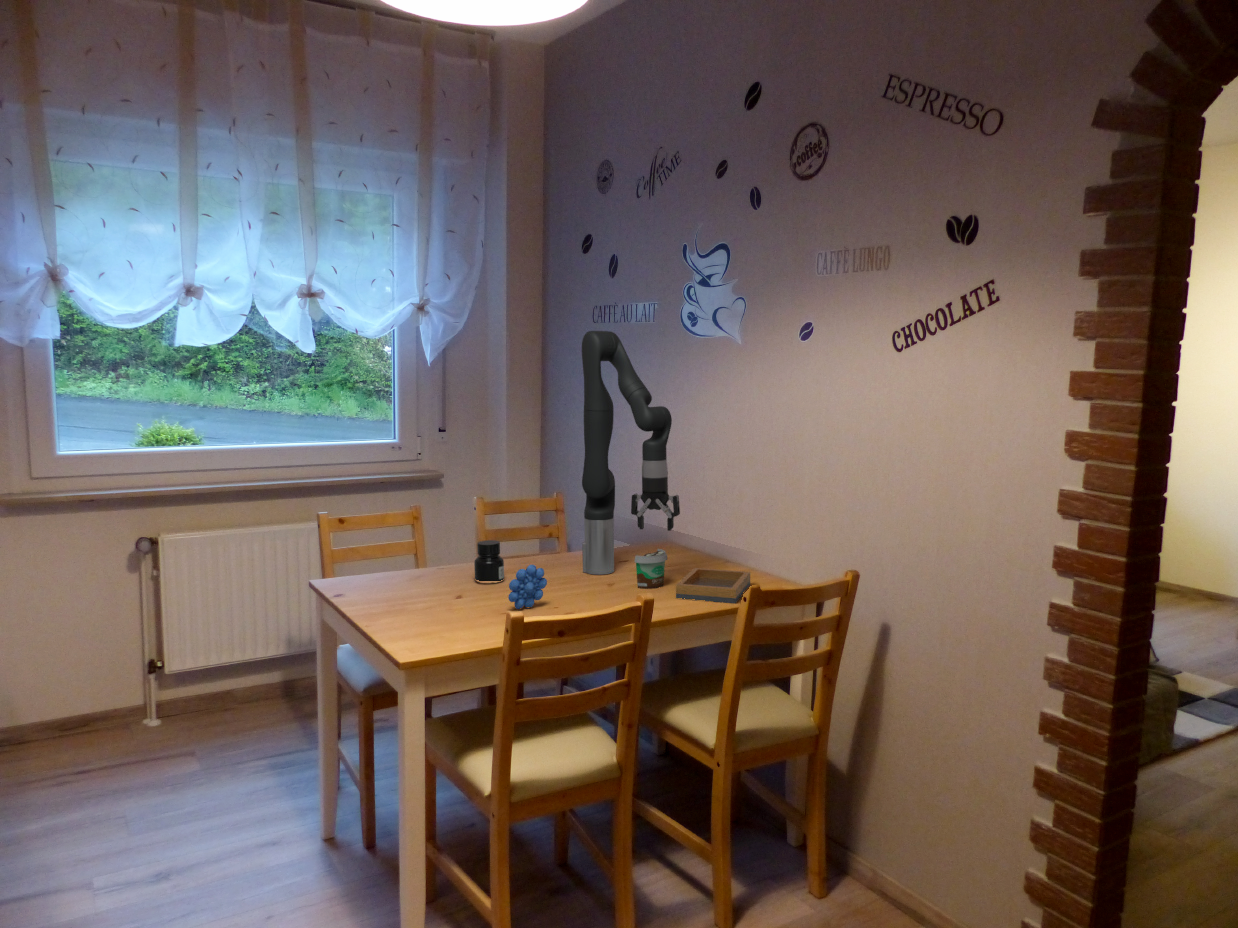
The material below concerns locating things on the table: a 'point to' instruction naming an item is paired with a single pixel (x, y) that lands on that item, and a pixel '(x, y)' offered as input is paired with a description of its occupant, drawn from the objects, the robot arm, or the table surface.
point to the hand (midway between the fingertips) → (655, 529)
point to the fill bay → (713, 585)
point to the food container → (651, 569)
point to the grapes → (527, 587)
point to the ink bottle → (489, 561)
